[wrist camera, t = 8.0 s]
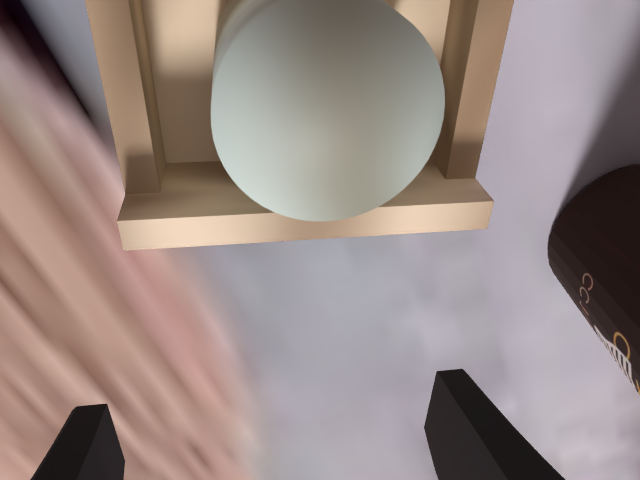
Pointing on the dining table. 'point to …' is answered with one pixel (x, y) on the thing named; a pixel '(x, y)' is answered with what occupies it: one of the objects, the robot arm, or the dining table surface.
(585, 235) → the coffee mug
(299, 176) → the rack
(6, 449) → the dining table surface
